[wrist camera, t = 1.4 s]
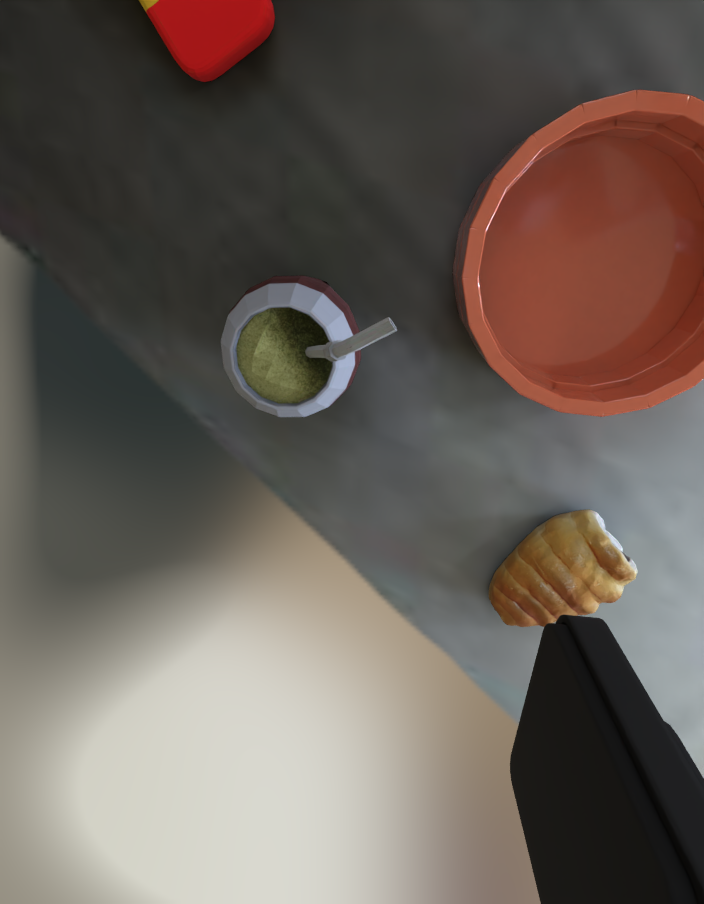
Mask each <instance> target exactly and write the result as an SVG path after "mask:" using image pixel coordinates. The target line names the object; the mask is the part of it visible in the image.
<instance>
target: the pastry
mask: <svg viewBox="0 0 704 904" xmlns="http://www.w3.org/2000/svg"><path fill="white" fill-rule="evenodd" d="M622 550H623V549H622V547H621V545H620V543H619V542H618V541H617V540H616V539H615V538H614V537H613V536H612V535H611V534H610V533H609V532H608V531H606V530H605V524H604V521H603V519H602V518H601V517H600V516H599V514H598V513H597V512H594V511H592V510H578V511H573V512H569V513H564V514H559V515H556V516H553V517H552V518H550V519H549V520H547V521H546V522H544V523H543V524H541V525H538V526H537V527H536V528H535V529H534V530H533V531H532V532H531V533H530V534H529V535H527V536H526V538H525V539H524V540H523V541H522V542H521V543H519V544H518V546H517V547H516V548H515V549H514V551H513V552H512V553H511V554H509V556H508V557H507V558H506V559H505V560H504V561H503V562H502V564H501V565H500V566H499V568H498V569H497V570H496V571H495V573H494V576H493V578H492V581H491V583H490V586H489V599H490V601H491V603H492V605H493V607H494V609H495V610H496V611H497V612H498V613H499V615H500V617H501V619H502V620H503V622H504V623H505V624H507V625H511V626H513V625H517V626H520V627H528V626H536V625H540V626H542V627H545V626H546V624H548V623H553V622H555V621H557V619H558V618H559V616H561V615H563V614H564V615H573V616H577V615H587V614H591V613H594V612H595V611H596V610H597V609H598V606H599V604H600V603H604V602H605V603H613V602H615V601H616V600H618V599H619V598H620V597H621V595H622V592H623V587H624V586H625V585H626V584H628V583H630V582H631V581H632V580H635V578H636V575H637V572H638V571H637V569H636V565H635V564H634V562H633V560H632V559H631V558H629V557H628V556H627V555H626V554H625V553H623V552H622Z"/></svg>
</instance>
